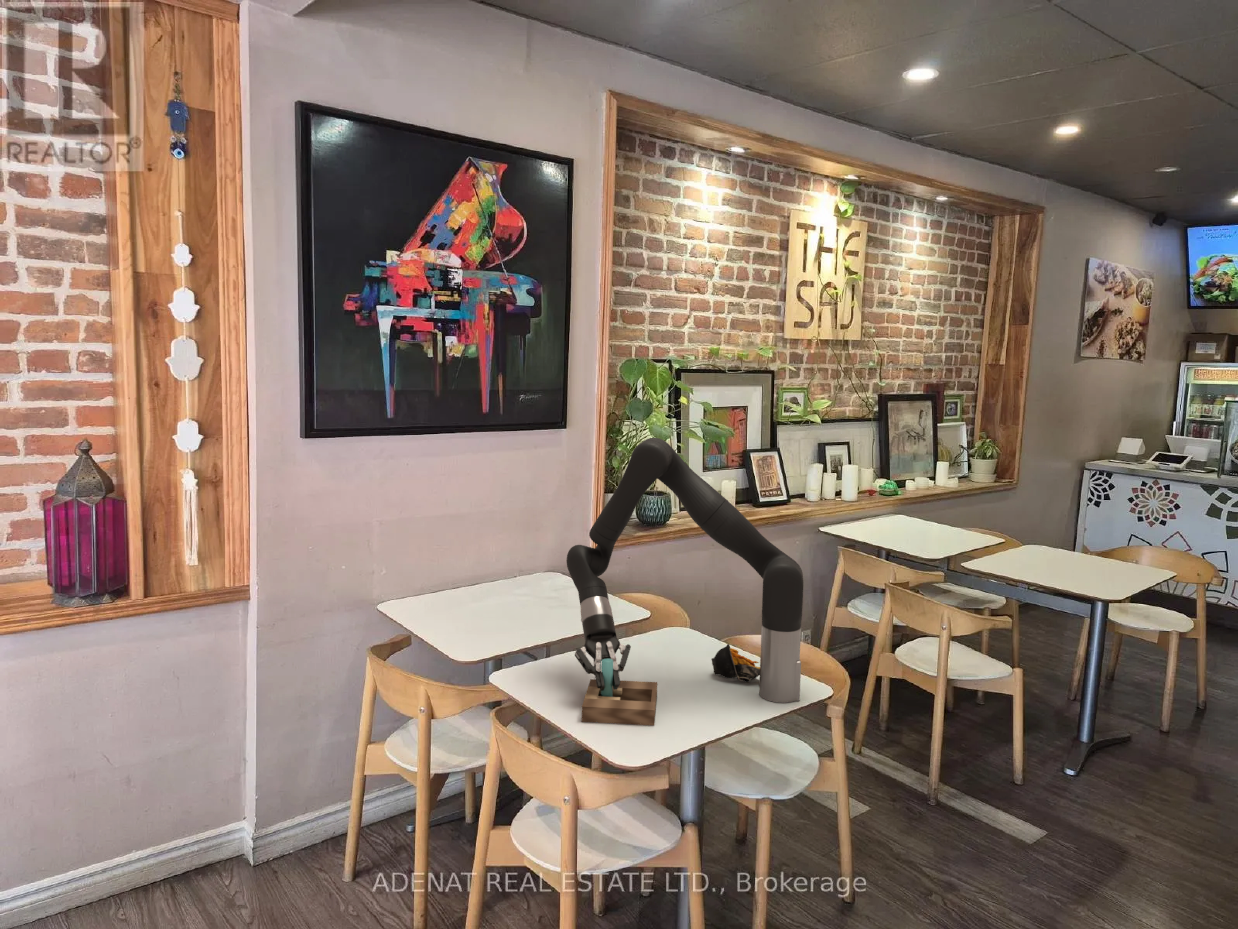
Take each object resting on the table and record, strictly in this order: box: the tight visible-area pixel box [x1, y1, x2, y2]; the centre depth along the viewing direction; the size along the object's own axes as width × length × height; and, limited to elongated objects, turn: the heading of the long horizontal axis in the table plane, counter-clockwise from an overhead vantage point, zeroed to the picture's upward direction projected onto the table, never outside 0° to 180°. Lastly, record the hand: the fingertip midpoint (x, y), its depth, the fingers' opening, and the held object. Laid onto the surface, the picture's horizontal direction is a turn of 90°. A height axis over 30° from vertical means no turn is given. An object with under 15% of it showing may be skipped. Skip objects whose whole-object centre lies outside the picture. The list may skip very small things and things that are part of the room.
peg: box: [601, 658, 613, 697], centre depth 188 cm, size 5×5×11 cm
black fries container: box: [711, 643, 760, 683], centre depth 207 cm, size 9×11×18 cm
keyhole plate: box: [581, 678, 658, 726], centre depth 188 cm, size 16×16×4 cm
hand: (609, 688), depth 186 cm, fingers closed on peg, 2 cm apart
